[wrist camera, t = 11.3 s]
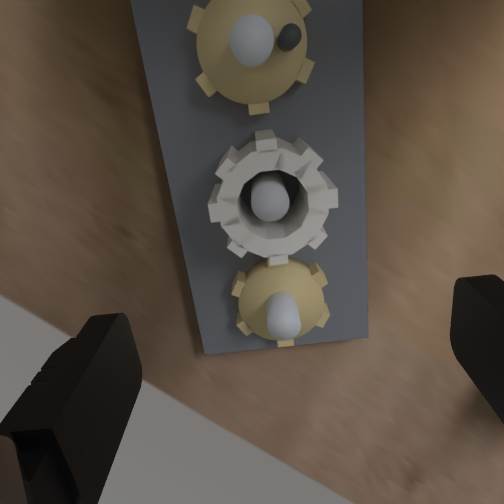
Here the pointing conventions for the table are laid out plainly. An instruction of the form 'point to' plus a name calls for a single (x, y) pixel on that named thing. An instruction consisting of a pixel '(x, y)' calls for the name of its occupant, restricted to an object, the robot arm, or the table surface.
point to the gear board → (232, 126)
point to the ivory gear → (299, 213)
